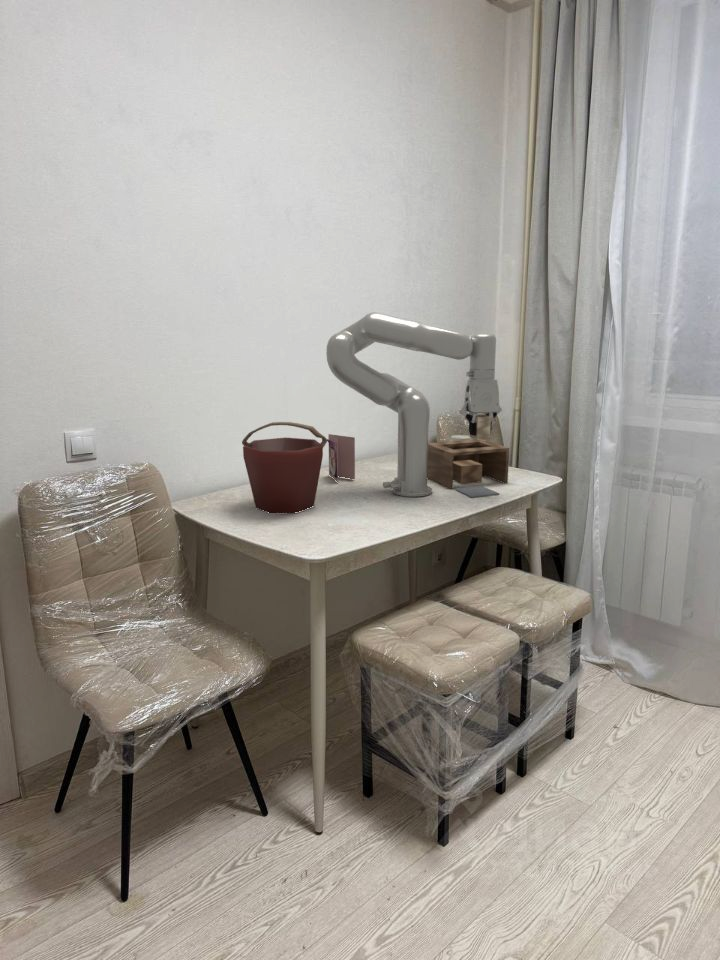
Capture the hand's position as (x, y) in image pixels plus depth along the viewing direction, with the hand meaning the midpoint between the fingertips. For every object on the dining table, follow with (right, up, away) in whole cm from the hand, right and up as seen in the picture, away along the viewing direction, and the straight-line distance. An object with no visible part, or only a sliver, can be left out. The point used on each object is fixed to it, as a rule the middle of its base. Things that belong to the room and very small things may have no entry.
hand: (480, 433), depth 207 cm
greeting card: (-44, -14, +22) cm, 51 cm away
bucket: (-60, -23, -11) cm, 65 cm away
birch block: (0, -1, 0) cm, 1 cm away
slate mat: (0, -18, +5) cm, 19 cm away
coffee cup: (-1, -11, +38) cm, 39 cm away
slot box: (-1, -14, +21) cm, 25 cm away
